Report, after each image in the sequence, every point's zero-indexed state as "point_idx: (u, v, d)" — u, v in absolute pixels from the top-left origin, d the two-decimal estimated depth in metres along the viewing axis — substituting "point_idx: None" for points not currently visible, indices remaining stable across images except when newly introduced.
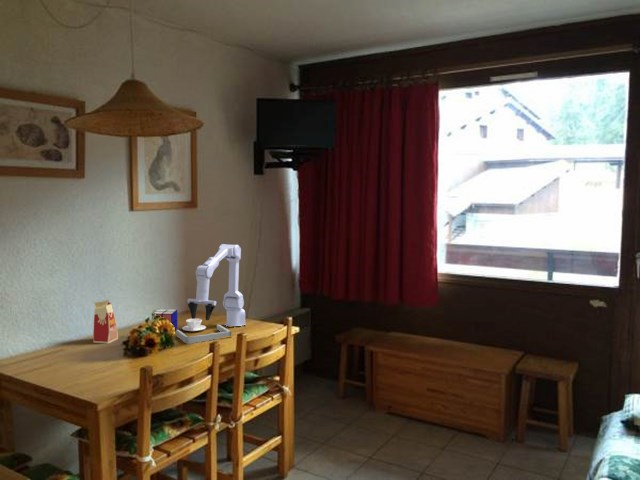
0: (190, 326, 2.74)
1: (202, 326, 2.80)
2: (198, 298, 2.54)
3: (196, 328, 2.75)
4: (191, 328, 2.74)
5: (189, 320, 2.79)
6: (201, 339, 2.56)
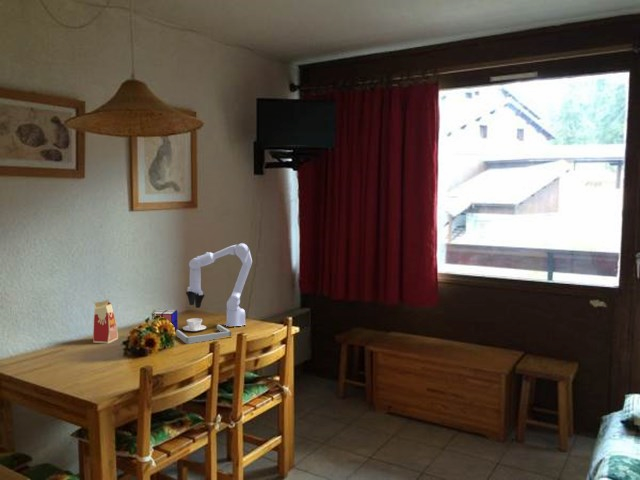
0: (190, 326, 2.74)
1: (202, 326, 2.80)
2: (189, 288, 2.82)
3: (196, 328, 2.75)
4: (191, 328, 2.75)
5: (189, 320, 2.79)
6: (201, 339, 2.56)
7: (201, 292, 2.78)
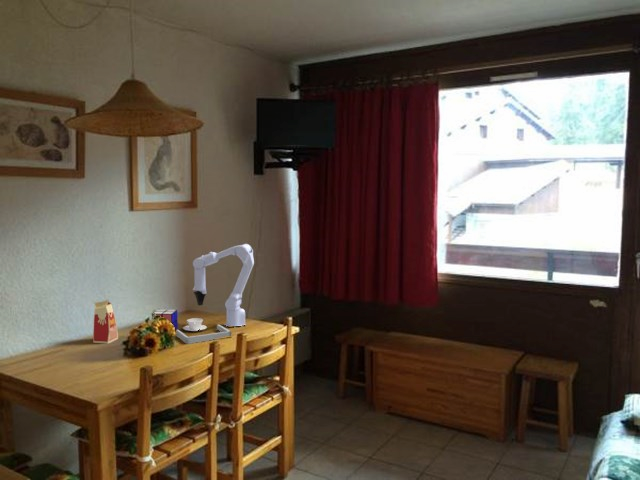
0: (191, 326, 2.74)
1: (203, 326, 2.80)
2: (194, 287, 2.86)
3: (197, 328, 2.75)
4: (192, 328, 2.75)
5: (190, 320, 2.79)
6: (201, 339, 2.56)
7: (205, 291, 2.81)
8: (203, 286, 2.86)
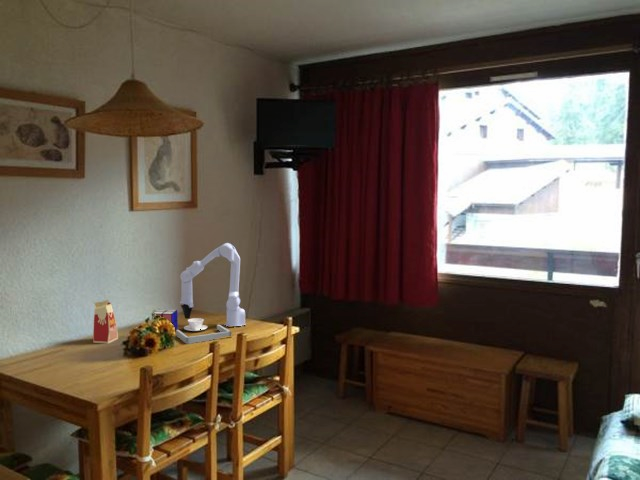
0: (192, 326, 2.74)
1: (204, 326, 2.80)
2: (181, 300, 2.83)
3: (198, 328, 2.75)
4: (193, 328, 2.75)
5: (191, 320, 2.79)
6: (201, 339, 2.56)
7: (191, 304, 2.79)
8: (190, 299, 2.83)
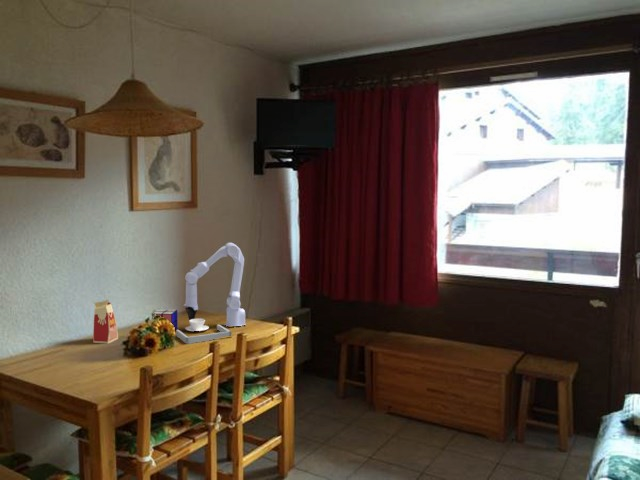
0: (193, 326, 2.73)
1: (205, 326, 2.79)
2: (186, 302, 2.77)
3: (199, 328, 2.74)
4: (194, 328, 2.74)
5: (192, 320, 2.78)
6: (201, 339, 2.56)
7: (196, 307, 2.73)
8: (194, 302, 2.77)
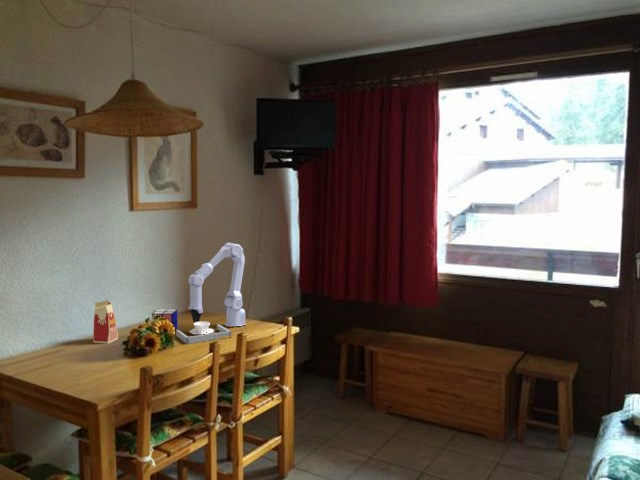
0: (198, 329, 2.67)
1: (210, 329, 2.73)
2: (190, 305, 2.71)
3: (204, 332, 2.68)
4: (199, 332, 2.68)
5: (197, 323, 2.72)
6: (201, 339, 2.56)
7: (201, 310, 2.67)
8: (199, 304, 2.71)
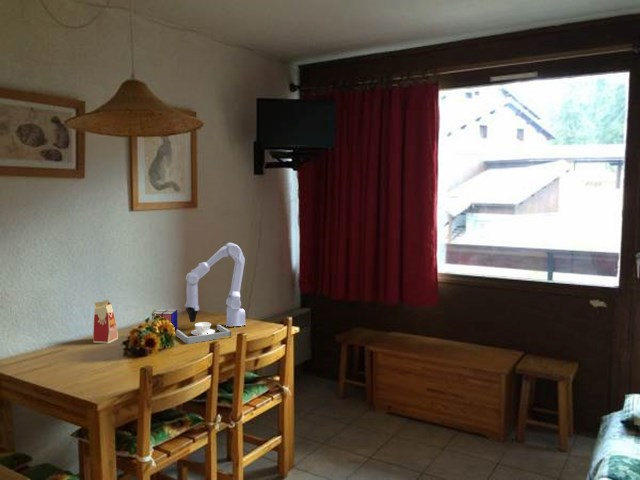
0: (199, 330, 2.66)
1: (211, 330, 2.72)
2: (186, 303, 2.76)
3: (205, 332, 2.67)
4: (200, 332, 2.67)
5: (198, 324, 2.71)
6: (201, 339, 2.56)
7: (197, 307, 2.72)
8: (195, 302, 2.76)
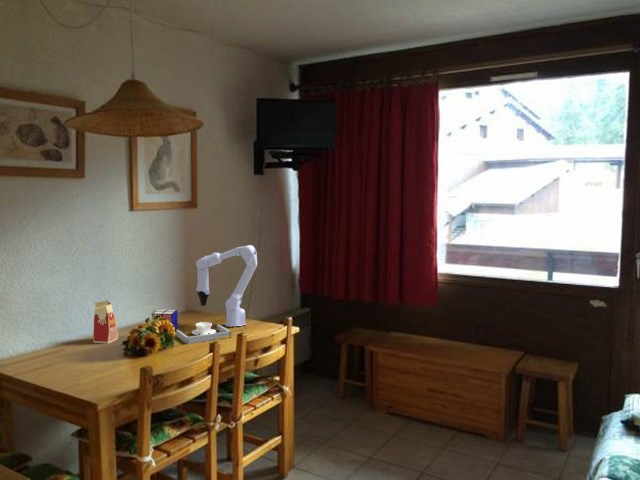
0: (200, 330, 2.66)
1: (212, 330, 2.72)
2: (197, 287, 2.85)
3: (206, 332, 2.67)
4: (201, 332, 2.67)
5: (199, 324, 2.71)
6: (201, 339, 2.56)
7: (208, 291, 2.80)
8: (206, 286, 2.84)
